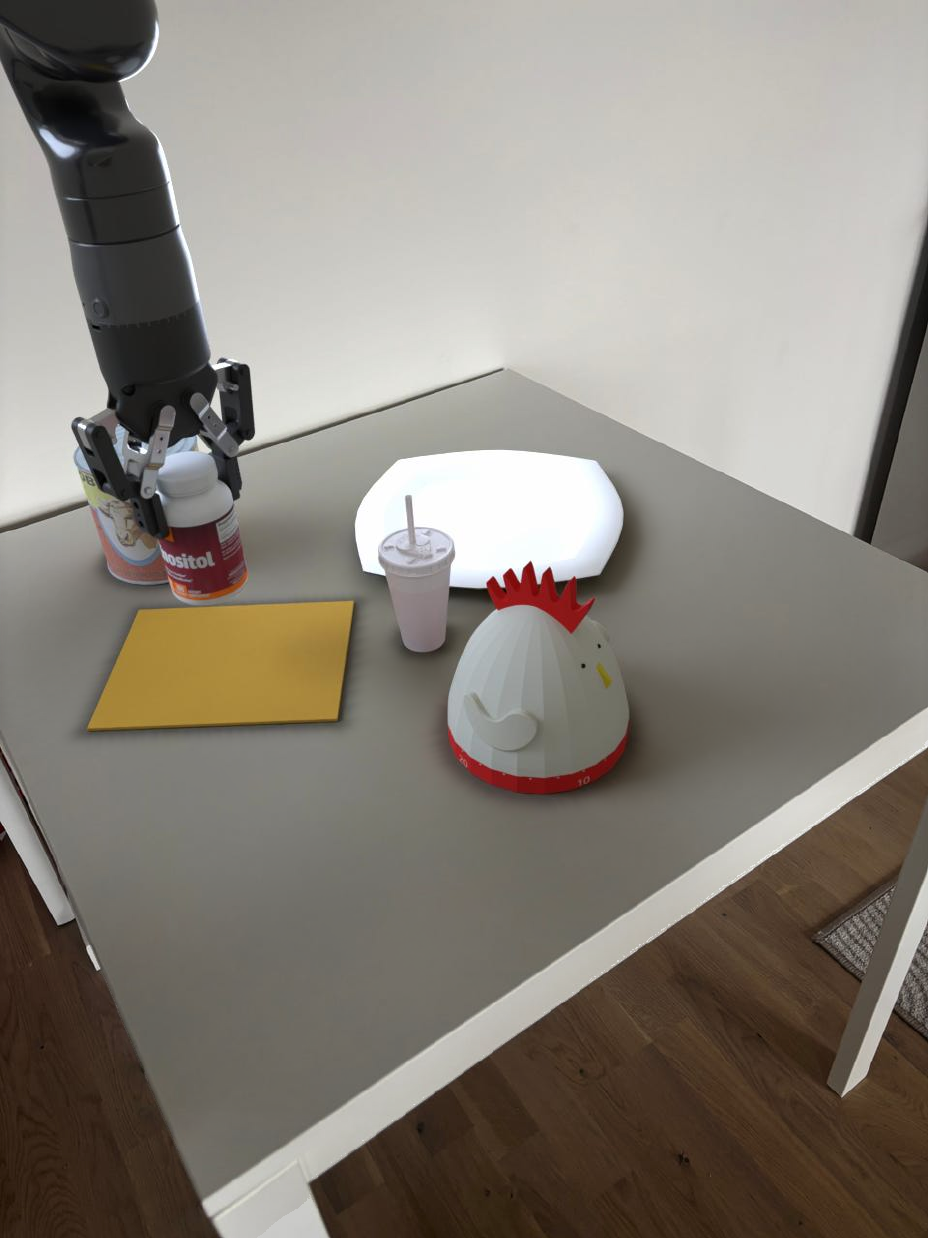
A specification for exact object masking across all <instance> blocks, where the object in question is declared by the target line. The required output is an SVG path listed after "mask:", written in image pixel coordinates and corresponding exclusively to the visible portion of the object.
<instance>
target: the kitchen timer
mask: <svg viewBox="0 0 928 1238" xmlns="http://www.w3.org/2000/svg"><path fill="white" fill-rule="evenodd" d="M503 580H504V584H505V587H506V589H505V590H506V592H505V591H504V590H503V589H502V588H501V587H500V585H499V583H498V582H497V580H496V579H495V577H494V576H492V577H491V578H490V579H489V580H488V581H487V582H486V585H487V589H486V590H487V592H488V594H489V596H490V598H491V601H492V603H493V605H494V607H495V609H494V610H493V611H492V612H491V613H490V614H489V615H488V616H487V617H486V618H485V619H484V620H483V621H482V622H481V623H480V624H479V625H478V626H477V627H476V629H475V630H474V631H473V632H472V634H471V635H470V637H469V638H468V641H467V643H466V644H465V647H464V649H463V651H462V654H461V655H460V656H461V657H460V659H459V661H458V664H457V667H456V669H455V673H454V674H453V675H454V676H453V679H452V681H451V684H450V689H449V691H448V692H449V693H448V699H447V731H448V742H449V743H450V746H451V748H452V751H453V754H454V755H455V758H456V759H457V760H458V761H459V762H460V764H462V765H463V767H464V768H465V769H466V770H467V771H468V772H469V773H470V774H472V775H474V776H476V777H477V778H478V779H480V780H483V781H484V782H486V783H487V784H489V785H490V786H494V787H497V788H501V789H503V790H504V789H505V790H508V791H511V792H513V793H514V792H515V793H519V794H520V793H522V794H534V795H535V794H537V795H548V794H549V795H550V794H554V793H561V792H568V791H569V792H570V791H573V790H576V789H578V788H580V787H583V786H585V785H589V784H590V783H593V782H595V781H597V780H598V779H599V778H601V777H603V776H604V775H605V774H606V773H608V772H609V771H610V770H611V769H613V768H614V766H616V764H617V762H618V761H619V760H620V758H621V757H622V755H623V754H624V752H625V751H626V750H625V749H626V746H627V745H626V744H627V741H628V736H629V727H630V707H629V701H628V696H627V691H626V688H625V684H624V680H623V676H622V674H621V670H620V667H619V665H618V661H617V658H616V656H615V654H614V653H615V652H613V649H612V647H611V646H610V644H609V640H610V639H609V638H610V637H609V634H608V632H607V630H606V629H605V628H604V626H603V625H602V624H601V623H599V622H598V621H596V620H592V619H591V618H590V617H588V615H587V614H588V613H589V612H590V611H591V609H592V607H593V605H594V603H595V601H596V596H593V597H591V599H589V600H588V601H586V602H585V603H584V604H581V603H578V600H577V598H578V596H577V592H578V589H577V580H576V577H575V576H574V577H573V578H572V579H571V580H570V581H567V583H566V585H565V586H564V589H563V591H562V593H561V596H560V595H559V594H558V592H557V588H556V583H555V582H554V577H553V573H552V570H551V567H549V568H548V569H547V570H546V571H545V572H544V573H543V574H542V579H541V585H539V586H538V584H537V580H536V575H535V571H534V567H533V564H532V561H530V562H529V563H528V564H527V565H526V566H525V567H524V568H523V570H522V577H521V583H520V582H519V580H518V578H517V576H516V575H515V573H514V571H513V570H512V568H510V569H509V570H507V571H506V572H505V573H504V574H503Z"/></svg>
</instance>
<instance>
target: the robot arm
mask: <svg viewBox="0 0 928 1238" xmlns="http://www.w3.org/2000/svg"><path fill="white" fill-rule="evenodd" d="M158 11H159V10H158V7H157V4H156V0H0V64H1V66H2V69H3V71H4V74H5V75H6V78H7V80H8V82H9V85H10V87H11V89H12V91H13V93H14V94H13V95H14V96H15V98H16V100H17V102H18V104H19V107H20V109H21V111H22V113H23V115H24V118H25V120H26V122H27V124H28V126H29V128H30V130H31V132H32V134H33V136H34V138H35V139H36V142H37V143H38V145H39V147H40V149H41V151H42V154H43V156H44V158H45V160H46V163H47V166H48V169H49V174H50V179H51V183H52V187H53V191H54V195H55V198H56V202H57V205H58V209H59V212H60V217H61V220H62V224H63V227H64V230H65V234H66V236H67V242H68V247H69V252H70V260H71V265H72V266H71V269H72V274H73V278H74V282H75V285H76V289H77V292H78V296H79V300H80V303H81V306H82V311H83V315H84V318H85V321H86V324H87V329H88V332H89V336H90V338H91V339H90V340H91V342H92V345H93V350H94V353H95V356H96V360H97V364H98V367H99V371H100V373H101V375H102V378H103V380H104V382H105V384H106V386H107V390H108V391H107V392H108V393H107V401H106V408H105V409H104V410H101V411H100V412H98V413H96V414H94V415H93V416H91V417H89V418H86V417H83V416H76V417H75V418H73V420H72V421H71V425H70V428H71V431H72V433H73V436H74V438H75V440H76V442H77V444H78V446H79V447H80V449H81V451H82V453H83V455H84V458H85V460H86V462H87V464H88V467H89V469H90V471H91V473H92V476H93V478H94V480H95V482H96V485H97V487H98V489H99V490H100V491H102V492H104V493H106V494H109V495H111V496H113V497H115V498H116V499H118V500H120V501H123V502H125V501H127V500H129V499H130V502H131V506H132V509H133V513H134V516H135V519H136V523H137V526H138V527H139V529H140V530H141V531H143V532H145V533H147V534H149V535H151V536H153V537H154V538H156V539H158V540H162V539H164V538H166V537H168V536H169V530H168V526H167V522H166V518H165V514H164V511H163V507H162V503H161V499H160V495H159V494H157V493H155V489H156V483H157V478H158V472H159V469H160V468H162V467H163V466H164V463H165V458H166V452H167V449H168V448H170V447H172V446H174V445H176V444H177V443H178V442H179V441H180V440H182V439H183V438H190V437H194V436H196V435H197V437H199V440H201V441H202V443H204V445H205V446H206V447H207V448H208V449H210V450H211V451H210V452H208V453H207V454H209V455H211V456H212V457H213V458H214V460H215V464H216V468H217V471H218V479H219V480H220V481H222V482H224V483H225V484H226V485H227V486H228V488H229V489H230V491H231V494H232V498H233V502H235V501H237V500H239V499H240V498H241V493H240V491H242V487H243V480H242V475H241V470H240V466H239V465H240V464H239V460H238V453H239V449H240V446H241V445H242V444H243V443H244V442H245V441H246V442H247V441H248V442H250V441H251V440H253V439H254V437H255V436H256V424H255V413H254V400H253V389H252V378H251V368H250V366H249V365H248V364H247V363H244V362H240V361H237V360H235V359H231V358H229V357H225V356H221V357H220V358H218V360H217V362H216V364H213V365H212V364H211V363H210V359H211V357H212V354H211V347H210V342H209V338H208V337H209V336H208V332H207V327H206V323H205V317H204V312H203V308H202V303H201V299H200V295H199V290H198V285H197V280H196V275H195V270H194V266H193V265H194V264H193V261H192V257H191V253H190V251H189V247H188V245H187V242H186V239H185V237H184V234H183V231H182V227H181V223H180V218H179V213H178V208H177V203H176V198H175V193H174V189H173V185H172V179H171V174H170V170H169V166H168V163H167V162H168V161H167V159H166V155H165V152H164V150H163V149H164V148H163V146H162V144H161V142H160V140H159V138H158V137H157V135H156V134H155V133H154V132H153V131H152V130H151V129H150V128H148V127H147V126H146V125H144V124H143V123H142V122H141V121H140V120H139V119H138V118H137V117H136V116H135V115H134V114H133V112H132V110H131V109H130V107H129V104H128V101H127V99H126V96H125V93H124V90H123V88H122V85H121V82H123V81H126V80H128V79H130V78H132V77H134V76H136V75H137V74H138V73H140V72H141V71H142V70H143V69H144V68H146V66H147V65H148V64H149V63H150V61H151V59H152V58H153V56H154V54H155V51H156V49H157V45H158V42H159V36H160V18H159V12H158ZM216 390H218V394H219V395H218V396H219V402H220V404H219V405H220V413H221V418H220V416H219V415H218V414H217V413H216V411H214V409H213V408H212V406H211V405H212V403H213V398H214V396H215V392H216ZM117 425H120V426H122V427H123V428H124V429H125V433H124V439H123V445H122V455H123V456H124V466H123V467H122V465H121V462H120V460H119V458H118V455H117V453H116V450H115V448H114V446H113V445H115V444H116V443H117V438H116V434H115V429H116V427H117ZM142 442H144V443H146V444H148V450H145V449H144V448H143V446H142Z"/></svg>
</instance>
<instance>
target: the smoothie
mask: <svg viewBox="0 0 928 1238" xmlns="http://www.w3.org/2000/svg"><path fill="white" fill-rule="evenodd" d="M405 503H406V514H407V525H408V528H403V529H400V530H397V531H394V532H392V533H390V534H389V535H387V536H386V537H385V538H383V539H382V541H381V542H380V543H379V546H378V561H379V564H380V565H381V567H382V568H383V569H384V570H385V574H386V577H385V578H386V581H387V585H388V589H389V593H390V597H391V601H392V605H393V608H394V612H395V616H396V619H397V623H398V628H399V631H400V634H401V639H402V643H403V645H404V646H405V648H407V649H408V650H410V651H411V652H416V653H428V652H433V651H436V650H437V649H439V648H441V647H442V646H443V645H444V644H445V641H446V633H447V631H446V630H447V619H448V608H449V595H450V587H449V584H450V574H451V564H452V562H453V561H454V559H455V554H456V552H455V548H454V541H453V539H452V537H451V536H450V535H449V534H447V533H446V532H444V531H442V530H439V529H436V528H432V527H424V526H416V527H414V515H413V504H412V496H411V495H406V496H405Z"/></svg>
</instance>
